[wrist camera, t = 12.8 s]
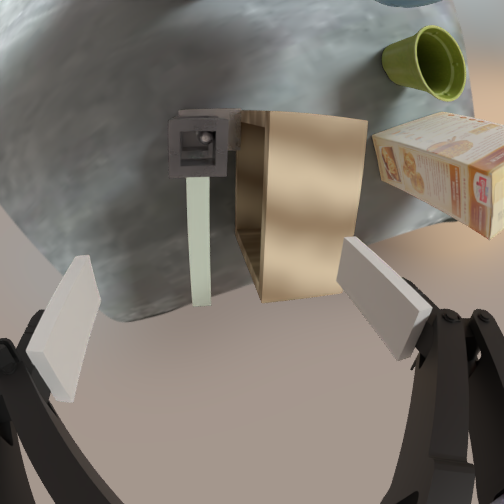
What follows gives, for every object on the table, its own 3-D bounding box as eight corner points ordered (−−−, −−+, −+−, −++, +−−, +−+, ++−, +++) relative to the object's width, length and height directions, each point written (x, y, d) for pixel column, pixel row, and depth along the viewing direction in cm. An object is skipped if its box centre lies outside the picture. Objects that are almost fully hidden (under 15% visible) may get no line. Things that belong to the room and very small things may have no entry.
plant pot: (422, 45, 29) (466, 42, 21) (421, 103, 33) (465, 110, 25) (371, 24, 27) (414, 13, 19) (369, 88, 31) (413, 89, 24)
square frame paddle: (174, 116, 26) (168, 120, 18) (215, 115, 27) (228, 119, 18) (179, 252, 33) (178, 307, 25) (213, 250, 34) (225, 304, 25)
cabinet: (179, 110, 29) (172, 108, 16) (301, 111, 31) (368, 118, 19) (184, 238, 36) (186, 310, 23) (293, 231, 38) (342, 292, 26)
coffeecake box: (380, 182, 38) (488, 243, 21) (369, 133, 34) (491, 171, 17) (448, 152, 37) (547, 193, 21) (442, 110, 34) (549, 137, 17)
